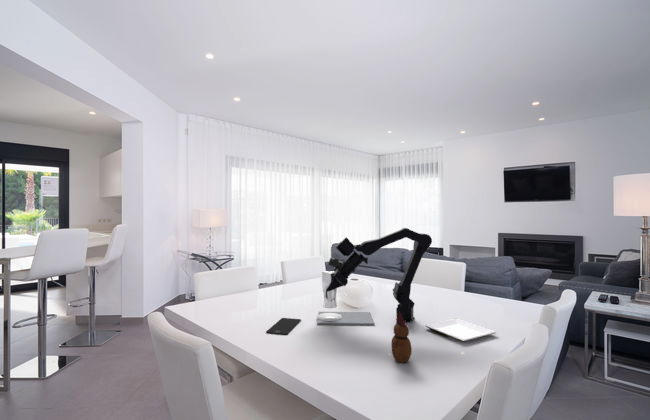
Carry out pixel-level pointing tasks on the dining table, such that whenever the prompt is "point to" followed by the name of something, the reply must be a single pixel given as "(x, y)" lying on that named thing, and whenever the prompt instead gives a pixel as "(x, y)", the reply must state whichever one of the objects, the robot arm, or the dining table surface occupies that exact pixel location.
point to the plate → (460, 329)
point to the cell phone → (283, 326)
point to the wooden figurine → (401, 341)
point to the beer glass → (331, 295)
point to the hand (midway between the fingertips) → (327, 288)
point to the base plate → (345, 318)
